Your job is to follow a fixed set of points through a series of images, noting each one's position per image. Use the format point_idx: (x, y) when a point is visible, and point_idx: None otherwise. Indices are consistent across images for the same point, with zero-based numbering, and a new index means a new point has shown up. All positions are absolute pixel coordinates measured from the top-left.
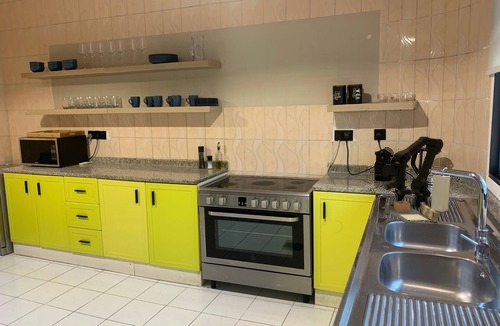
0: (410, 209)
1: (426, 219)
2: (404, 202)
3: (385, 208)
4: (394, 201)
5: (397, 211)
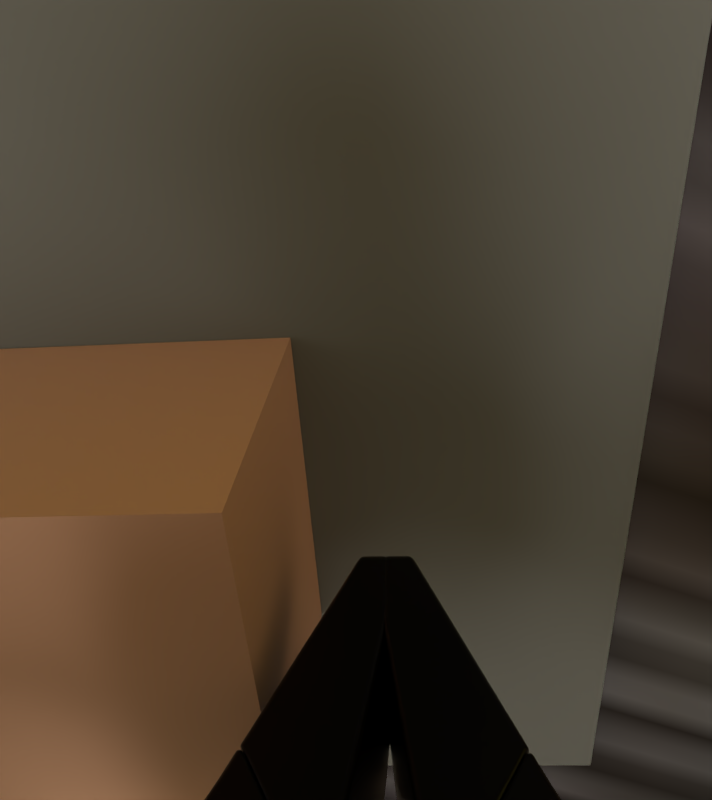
0: None
1: None
2: (6, 779)
3: (420, 45)
4: (212, 502)
5: (10, 346)
